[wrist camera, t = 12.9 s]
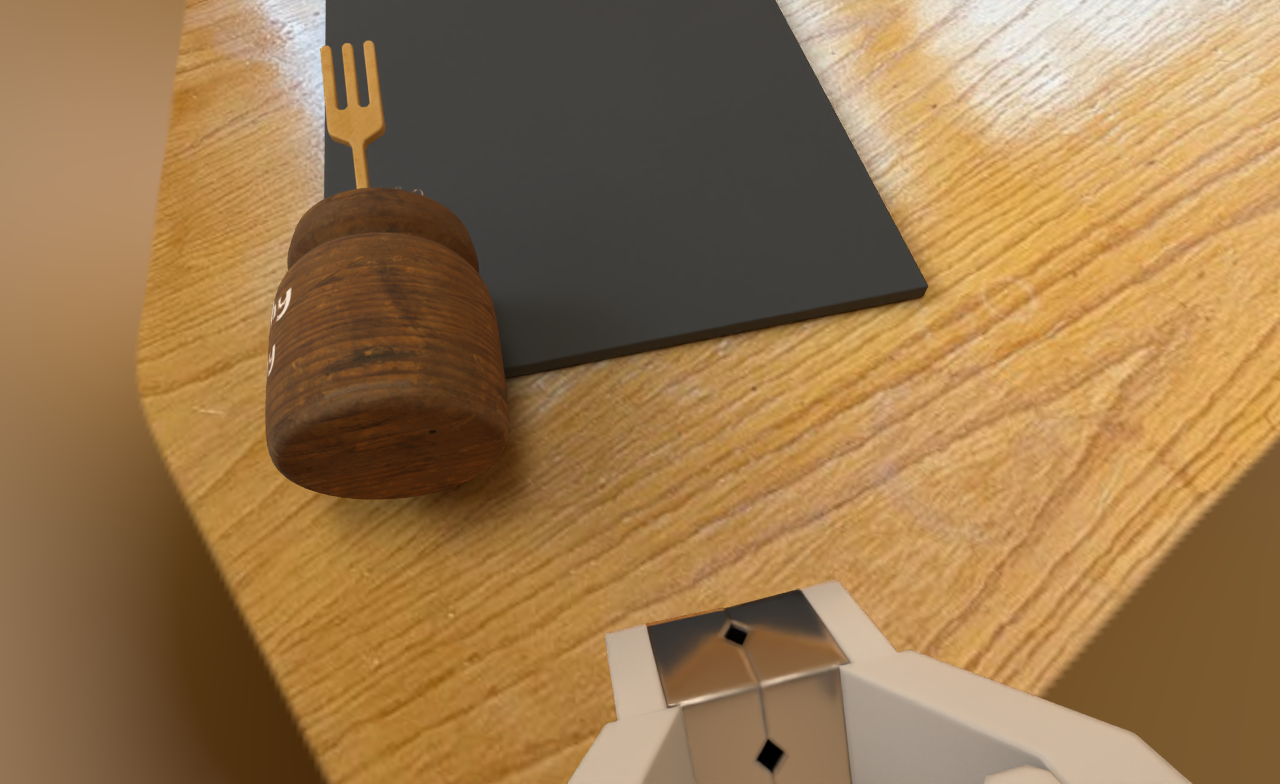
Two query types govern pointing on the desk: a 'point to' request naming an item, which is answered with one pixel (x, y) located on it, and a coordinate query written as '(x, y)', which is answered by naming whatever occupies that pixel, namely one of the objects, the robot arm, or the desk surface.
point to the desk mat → (623, 167)
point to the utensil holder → (381, 334)
